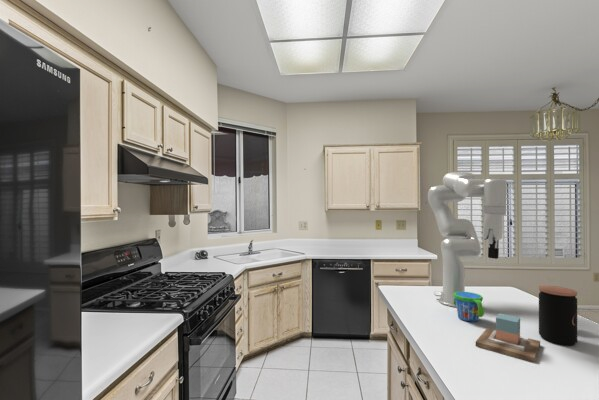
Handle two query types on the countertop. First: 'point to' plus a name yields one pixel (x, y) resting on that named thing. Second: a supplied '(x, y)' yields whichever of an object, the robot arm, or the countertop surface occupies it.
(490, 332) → the walnut board
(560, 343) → the coffee jar
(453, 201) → the robot arm
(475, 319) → the snack cup
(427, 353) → the countertop surface
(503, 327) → the teal and orange block
